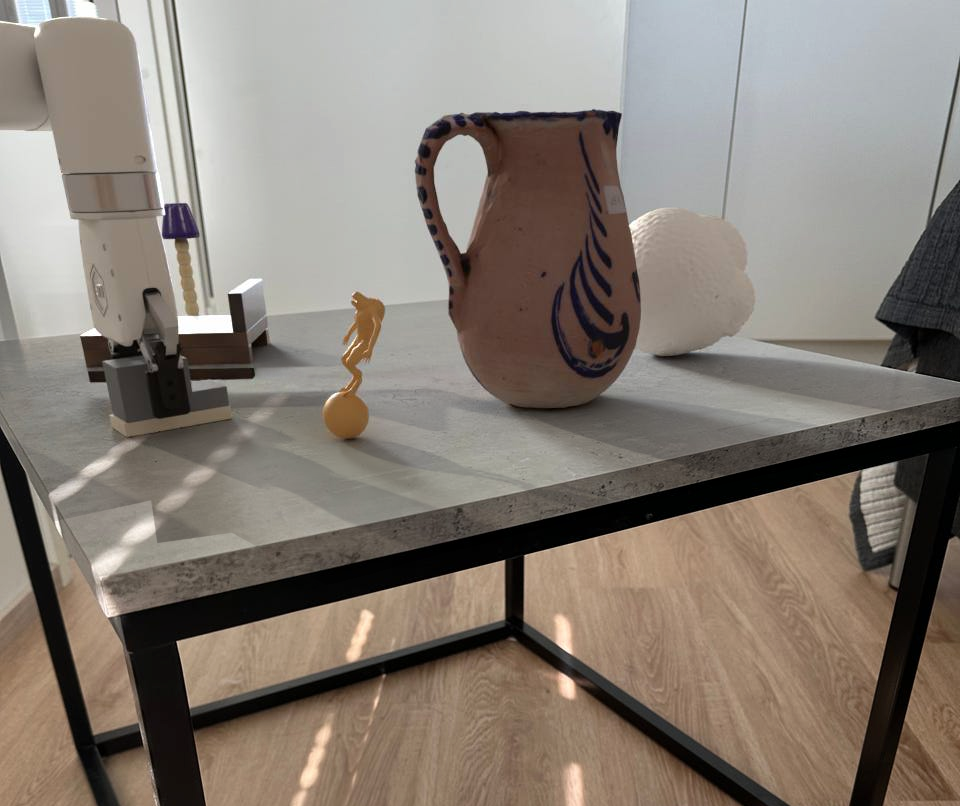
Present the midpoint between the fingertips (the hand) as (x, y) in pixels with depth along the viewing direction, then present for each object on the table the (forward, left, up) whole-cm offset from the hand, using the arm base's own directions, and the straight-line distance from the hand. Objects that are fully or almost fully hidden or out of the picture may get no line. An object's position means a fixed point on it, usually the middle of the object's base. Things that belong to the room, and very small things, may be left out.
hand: (153, 405), depth 84 cm
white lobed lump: (+53, +28, -2) cm, 60 cm away
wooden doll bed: (-4, +25, -2) cm, 25 cm away
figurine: (+19, -5, -2) cm, 20 cm away
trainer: (+1, +1, -2) cm, 2 cm away
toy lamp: (-7, +43, -2) cm, 44 cm away
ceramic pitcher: (+35, +6, -2) cm, 36 cm away
